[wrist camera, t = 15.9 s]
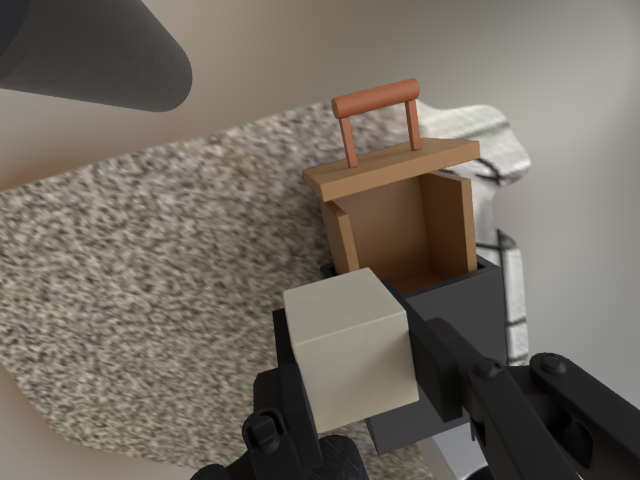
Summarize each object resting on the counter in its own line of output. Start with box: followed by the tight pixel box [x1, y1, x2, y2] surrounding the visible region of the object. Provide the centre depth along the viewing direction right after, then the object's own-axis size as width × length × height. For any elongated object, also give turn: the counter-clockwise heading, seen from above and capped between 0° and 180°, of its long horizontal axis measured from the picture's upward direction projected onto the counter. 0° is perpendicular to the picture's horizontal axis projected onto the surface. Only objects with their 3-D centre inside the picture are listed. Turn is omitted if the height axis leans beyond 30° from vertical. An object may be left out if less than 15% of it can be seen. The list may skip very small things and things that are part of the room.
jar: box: [415, 422, 494, 480], centre depth 37 cm, size 9×8×12 cm
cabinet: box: [320, 254, 506, 456], centre depth 32 cm, size 15×13×10 cm
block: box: [282, 267, 419, 434], centre depth 16 cm, size 5×5×5 cm
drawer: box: [303, 78, 480, 294], centre depth 27 cm, size 18×11×8 cm, turn 14°
